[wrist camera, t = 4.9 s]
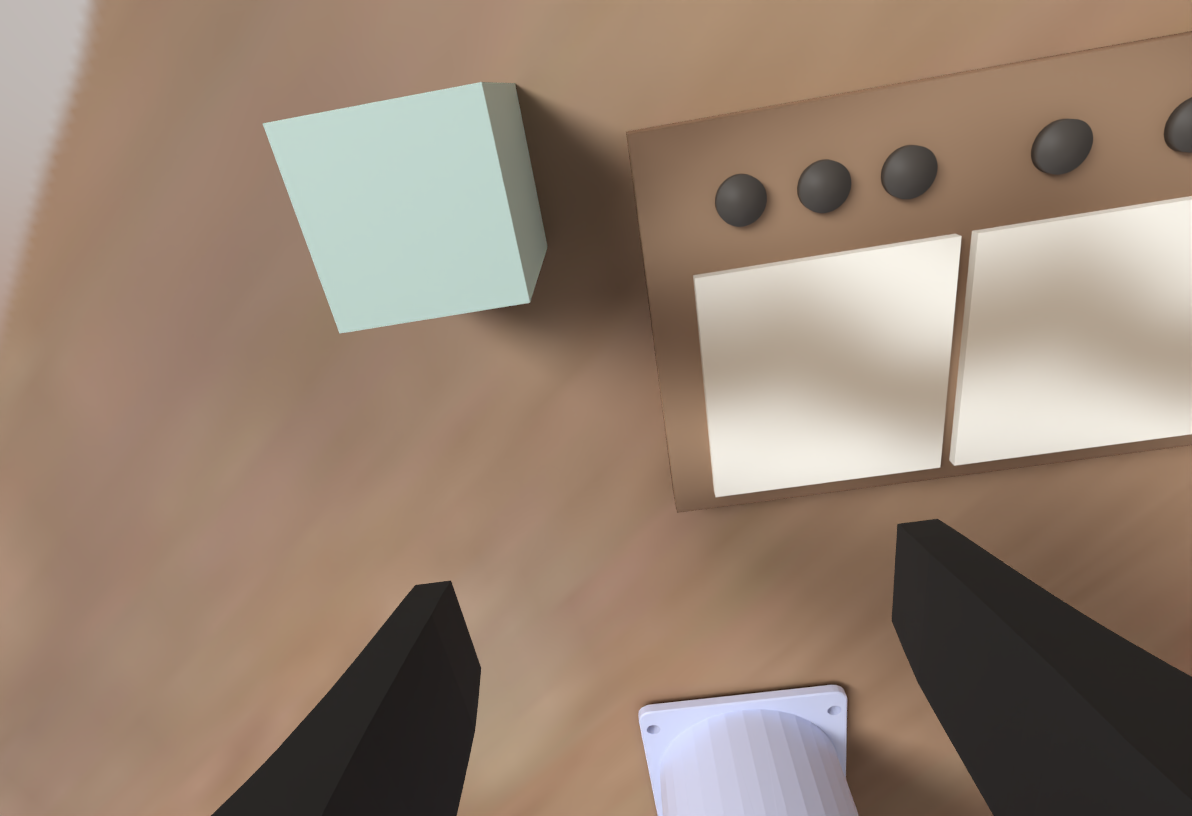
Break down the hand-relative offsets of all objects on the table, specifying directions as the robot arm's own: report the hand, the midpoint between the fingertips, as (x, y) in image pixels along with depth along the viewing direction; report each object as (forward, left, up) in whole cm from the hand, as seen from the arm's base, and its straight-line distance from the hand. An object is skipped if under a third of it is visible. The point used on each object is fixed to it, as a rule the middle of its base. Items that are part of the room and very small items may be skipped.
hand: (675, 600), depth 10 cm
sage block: (+6, +4, -10) cm, 12 cm away
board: (+1, -12, -9) cm, 15 cm away
